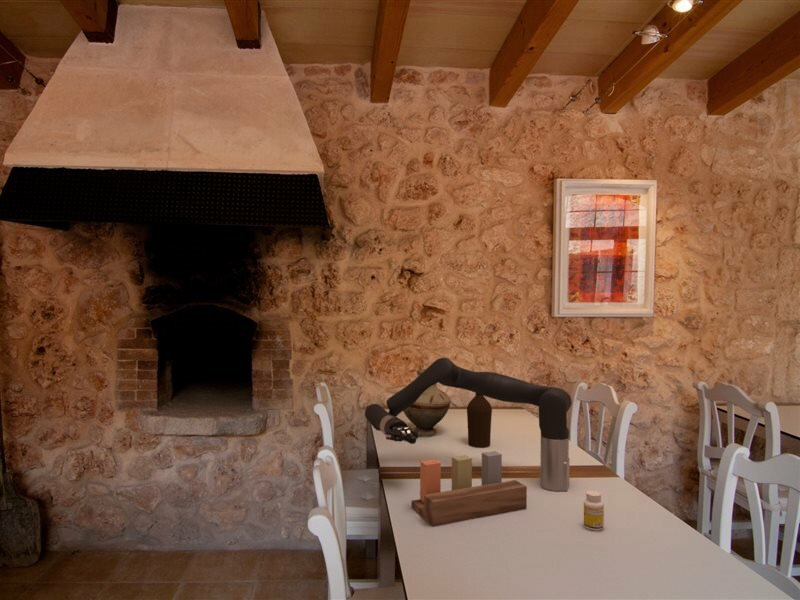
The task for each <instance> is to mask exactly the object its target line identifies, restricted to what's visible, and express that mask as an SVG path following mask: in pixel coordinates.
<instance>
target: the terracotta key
mask: <svg viewBox="0 0 800 600" xmlns="http://www.w3.org/2000/svg"><path fill="white" fill-rule="evenodd" d="M419 463H420V465H419V466H420V467H419V469H420V471H419V472H420V473H419V475H420V477H419V480H420V481H419V487H420V488H419V489H420V490H419V494H420V495H419V499H420V500H421V501H422V502H424V495H426V494H432V493H438V492H442V491H441V487H442V486H441V483H442V482H441V477H442V475H441V473H442V472H441V470H442V469H441V467H442V466H441V465H442V463H441V462H440V461H438V460H437V459H427V460H420V461H419Z"/></svg>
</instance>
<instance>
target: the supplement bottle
mask: <svg viewBox="0 0 800 600" xmlns="http://www.w3.org/2000/svg"><path fill="white" fill-rule="evenodd" d="M585 495H586V496H585V497H586V498H585V499H584V500H583V526H584V528H585V529H588V530H590V531H603V530H604V528H605V507H604V506H605V504H604V501H603V500H602V493H601V492H600V491H597V490H587V491H586V494H585Z"/></svg>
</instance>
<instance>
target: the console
mask: <svg viewBox="0 0 800 600" xmlns="http://www.w3.org/2000/svg"><path fill="white" fill-rule="evenodd" d="M527 487H528V486H527V485H525V484H523V483H521V482H520V481H518V480H516V479H513V480H507V481H502V482H500V483H494V484H488V485H482V484H481V485H477V486H476V485H475V486H472V487H469V488H463V489H457V490H452V489H450V490H444V491H441V492H438V493H432V494H426V495H424V502H422V501H421V500H420V498H419V499H414V500H411V508H412V509H413V510H414V511H416V513H417V514H419V515H420V517H422V519H424V520H425V521H426V522H427V523H428V524H429V525H431V526H432V527H437V526H443V525H448V524H453V523H458V522H464V521H469V520H475V519H480V518H487V517H490V516H491V517H492V516H496V515H497V516H498V515H503V514H507V513H513V512H518V511H522V510H527V507H528V506H527V503H528V502H527V501H528V500H527V499H528V498H527V497H528V491H527V490H528V488H527Z"/></svg>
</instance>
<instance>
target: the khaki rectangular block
mask: <svg viewBox="0 0 800 600" xmlns="http://www.w3.org/2000/svg"><path fill="white" fill-rule="evenodd" d="M469 487H473V458H472V457H470V456H468V455H466V454H464V455H463V454H462V455H456V456H451V490H457V489H463V488H469Z"/></svg>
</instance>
